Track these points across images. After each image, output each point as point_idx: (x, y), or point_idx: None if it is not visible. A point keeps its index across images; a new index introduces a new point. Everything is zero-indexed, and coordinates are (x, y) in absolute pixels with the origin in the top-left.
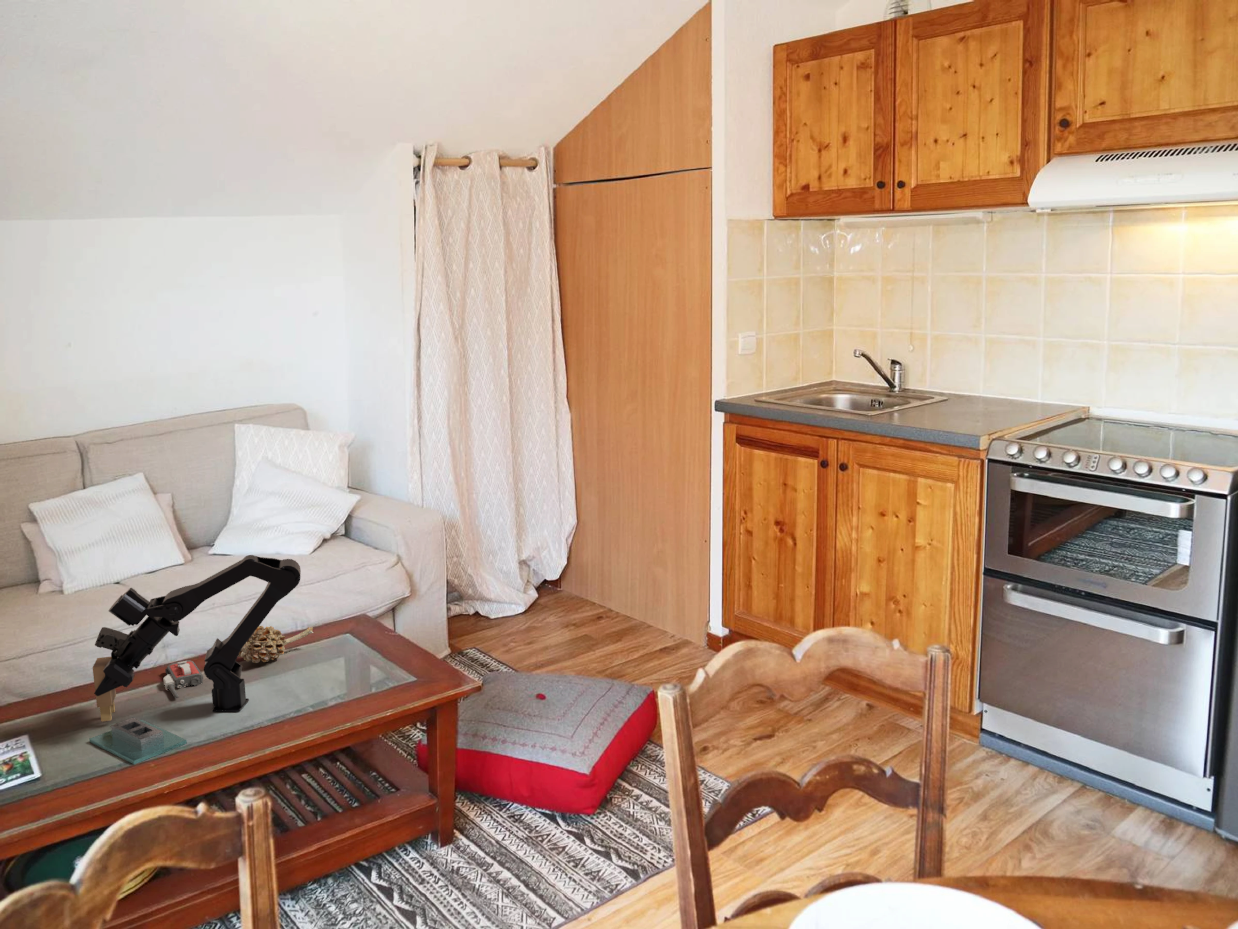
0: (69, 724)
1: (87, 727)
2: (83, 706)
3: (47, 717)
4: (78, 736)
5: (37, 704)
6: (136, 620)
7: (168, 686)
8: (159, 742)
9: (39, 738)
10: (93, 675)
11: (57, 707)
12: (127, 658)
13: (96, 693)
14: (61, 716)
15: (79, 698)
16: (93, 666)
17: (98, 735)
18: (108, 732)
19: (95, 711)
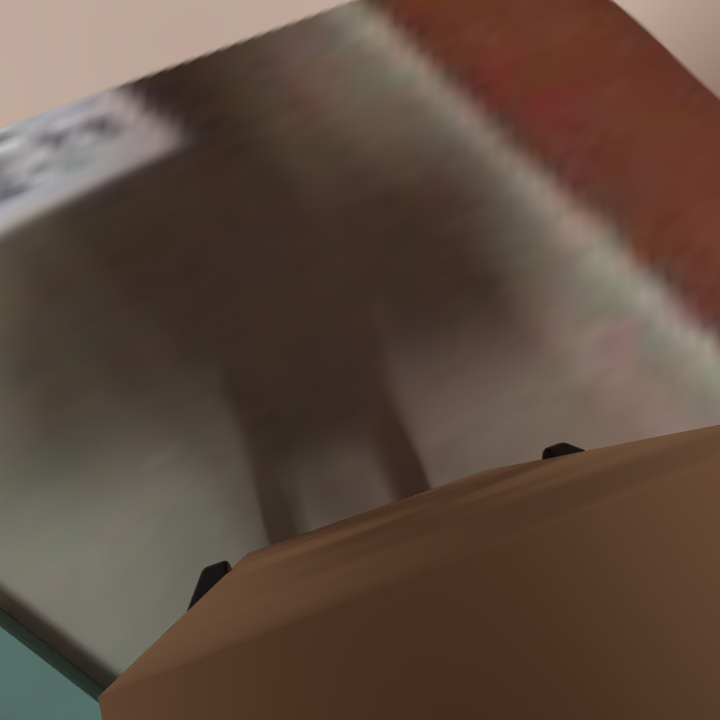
0: (313, 313)
1: (264, 453)
2: (568, 275)
3: (409, 149)
4: (116, 464)
5: (562, 37)
6: None
7: None
8: None
9: (113, 230)
10: (178, 624)
11: (539, 144)
12: None
13: None
14: (426, 215)
15: (664, 204)
16: (213, 674)
17: (31, 659)
18: (86, 717)
19: (508, 381)
